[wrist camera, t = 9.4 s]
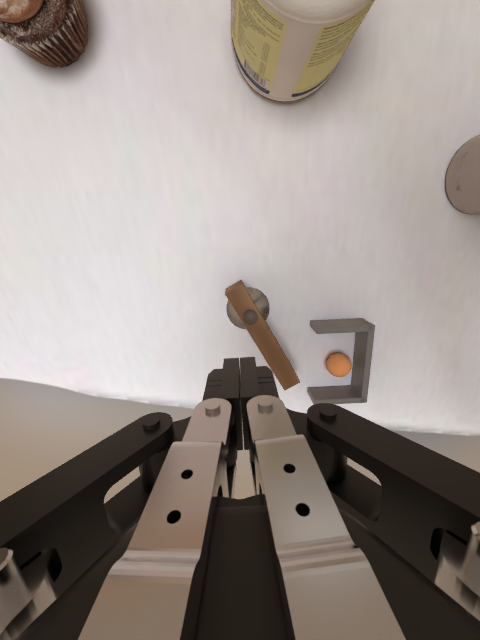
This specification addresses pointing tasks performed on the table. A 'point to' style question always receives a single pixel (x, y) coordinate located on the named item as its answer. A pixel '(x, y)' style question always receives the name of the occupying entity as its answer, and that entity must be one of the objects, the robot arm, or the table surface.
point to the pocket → (360, 362)
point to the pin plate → (259, 301)
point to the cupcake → (45, 29)
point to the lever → (261, 334)
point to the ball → (338, 364)
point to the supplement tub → (292, 42)
